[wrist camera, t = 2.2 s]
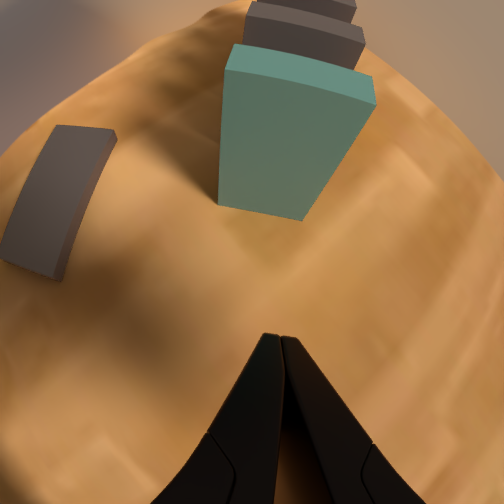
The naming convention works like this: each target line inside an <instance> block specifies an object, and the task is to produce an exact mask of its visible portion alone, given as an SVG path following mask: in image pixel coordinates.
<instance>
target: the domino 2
mask: <svg viewBox="0 0 504 504" xmlns="http://www.w3.org/2000/svg"><path fill="white" fill-rule="evenodd" d="M257 2H261V3H268V4H273V5H279V6H284V7H289V8H293V9H298V10H302V11H307V12H311V13H315V14H319V15H322V16H326V17H330V18H333V19H337V20H340V21H343V22H346V23H351V21H352V18H353V16H354V14H355V11H356V9H357V7H356V3H355V0H257Z"/></svg>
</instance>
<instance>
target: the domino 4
mask: <svg viewBox="0 0 504 504" xmlns="http://www.w3.org/2000/svg"><path fill="white" fill-rule="evenodd" d="M375 107H376V98H375V91H374V85H373V79H372V77H371V76H368V75H365V74H362V73H359V72H356V71H353V70H350V69H347V68H344V67H340V66H337V65H333V64H330V63H326V62H323V61H319V60H315V59H311V58H307V57H303V56H299V55H295V54H290V53H285V52H281V51H276V50H270V49H265V48H259V47H254V46H247V45H241V44H234V46H233V49H232V51H231V54H230V56H229V59H228V62H227V64H226V67H225V72H224V86H223V102H222V120H221V139H220V160H219V186H218V205H221V206H226V207H232V208H237V209H243V210H248V211H253V212H259V213H264V214H269V215H274V216H279V217H284V218H289V219H294V220H299V221H302V220H303V219H304V217H305V216H306V214H307V213H308V211H309V210H310V208H311V207H312V205H313V204H314V202H315V201H316V199H317V198H318V196H319V195H320V193H321V191H322V190H323V188H324V187H325V185H326V184H327V182H328V181H329V179H330V178H331V176H332V175H333V173H334V172H335V170H336V168H337V167H338V165H339V164H340V162H341V161H342V159H343V158H344V156H345V154H346V153H347V151H348V150H349V148H350V147H351V145H352V144H353V142H354V140H355V139H356V137H357V136H358V134H359V133H360V131H361V129H362V128H363V126H364V125H365V123H366V121H367V120H368V118H369V117H370V115H371V113H372V112H373V110H374V109H375Z"/></svg>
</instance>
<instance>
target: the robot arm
mask: <svg viewBox="0 0 504 504" xmlns="http://www.w3.org/2000/svg"><path fill="white" fill-rule="evenodd" d="M372 443H373V441H372V439H371V438H370V437H369V435H368V434H367V433H366V431H365V430H364V429H363V427H362V426H361V425H360V423H359V422H358V421H357V419H356V418H355V416H354V415H353V414H352V412H351V411H350V410H349V408H348V407H347V406H346V404H345V403H344V401H343V400H342V399H341V397H340V396H339V395H338V393H337V392H336V390H335V389H334V388H333V386H332V385H331V384H330V382H329V381H328V379H327V378H326V377H325V375H324V374H323V373H322V371H321V370H320V368H319V367H318V366H317V364H316V363H315V361H314V360H313V359H312V357H311V356H310V355H309V353H308V352H307V350H306V349H305V348H304V346H303V345H302V343H301V342H300V341H299V339H297V338H296V337H290V336H281V337H280V336H279V335H277V334H271V333H263V334H262V336H261V338H260V340H259V341H258V343H257V345H256V347H255V349H254V350H253V352H252V354H251V356H250V358H249V359H248V361H247V363H246V365H245V366H244V368H243V370H242V372H241V374H240V375H239V377H238V379H237V381H236V382H235V384H234V386H233V387H232V389H231V391H230V393H229V394H228V396H227V398H226V400H225V401H224V403H223V405H222V406H221V408H220V410H219V411H218V413H217V415H216V417H215V418H214V420H213V422H212V423H211V425H210V427H209V428H208V430H207V433H205V434H204V436H203V438H202V439H201V441H200V443H199V444H198V446H197V447H196V449H195V450H194V452H193V453H192V455H191V456H190V458H189V459H188V461H187V462H186V463H185V465H184V466H183V467H182V469H181V470H180V471H179V472H178V473H177V475H176V476H175V477H174V478H173V479H172V481H171V482H170V483H169V484H168V485H167V486H166V487H165V488H164V490H163V491H162V492H161V493H160V494H159V495H158V496H157V497H156V498H155V499H154V500H153V501H152V502H151V503H150V504H426V503H425V502H424V501H423V500H422V499H421V498H420V497H419V496H418V495H417V494H416V493H415V492H414V491H413V489H412V488H411V487H410V486H409V485H408V484H407V483H406V482H405V481H404V480H403V479H402V477H401V476H400V475H399V474H398V473H397V472H396V471H395V469H394V468H393V467H392V466H391V464H390V463H389V462H388V460H387V459H386V458H385V457H384V455H383V454H382V453H381V451H380V450H379V449H378V447H377V446H376V445H375V444H372Z"/></svg>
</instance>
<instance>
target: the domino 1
mask: <svg viewBox="0 0 504 504" xmlns="http://www.w3.org/2000/svg"><path fill="white" fill-rule="evenodd" d="M116 142H117V137H116V134H115V132H114V130H112V129H103V128H93V127H81V126H69V125H56V127H55V128H54V130H53V132H52V133H51V135H50V137H49V138H48V140H47V142H46V144H45V146H44V147H43V149H42V151H41V153H40V155H39V157H38V158H37V160H36V162H35V164H34V166H33V168H32V170H31V172H30V174H29V176H28V178H27V180H26V182H25V185H24V187H23V189H22V191H21V193H20V196H19V198H18V200H17V202H16V205H15V207H14V210H13V212H12V214H11V217H10V219H9V222H8V225H7V227H6V230H5V232H4V235H3V238H2V241H1V244H0V259H1V260H3V261H5V262H8V263H10V264H13V265H15V266H18V267H21V268H23V269H26V270H29V271H31V272H34V273H37V274H40V275H42V276H45V277H48V278H51V279H54V280H57V281H60V282H61V281H62V277H63V274H64V271H65V268H66V264H67V261H68V258H69V255H70V252H71V249H72V246H73V243H74V240H75V238H76V235H77V232H78V229H79V226H80V224H81V221H82V219H83V216H84V213H85V211H86V208H87V206H88V203H89V201H90V198H91V196H92V194H93V191H94V189H95V187H96V184H97V182H98V180H99V177H100V175H101V173H102V171H103V169H104V167H105V164H106V162H107V160H108V158H109V156H110V154H111V152H112V150H113V148H114V146H115V144H116Z"/></svg>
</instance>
